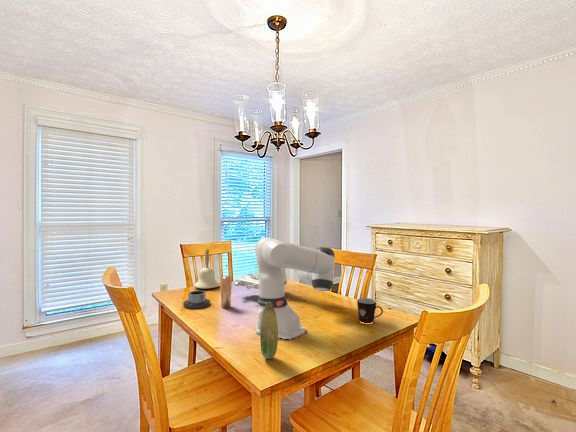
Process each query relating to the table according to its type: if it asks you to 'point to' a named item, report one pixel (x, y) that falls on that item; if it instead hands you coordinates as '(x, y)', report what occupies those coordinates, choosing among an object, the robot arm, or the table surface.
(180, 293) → the table surface
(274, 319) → the vegetable
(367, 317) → the coffee mug
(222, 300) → the copper pipe
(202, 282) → the handbell
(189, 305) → the pipe sleeve
